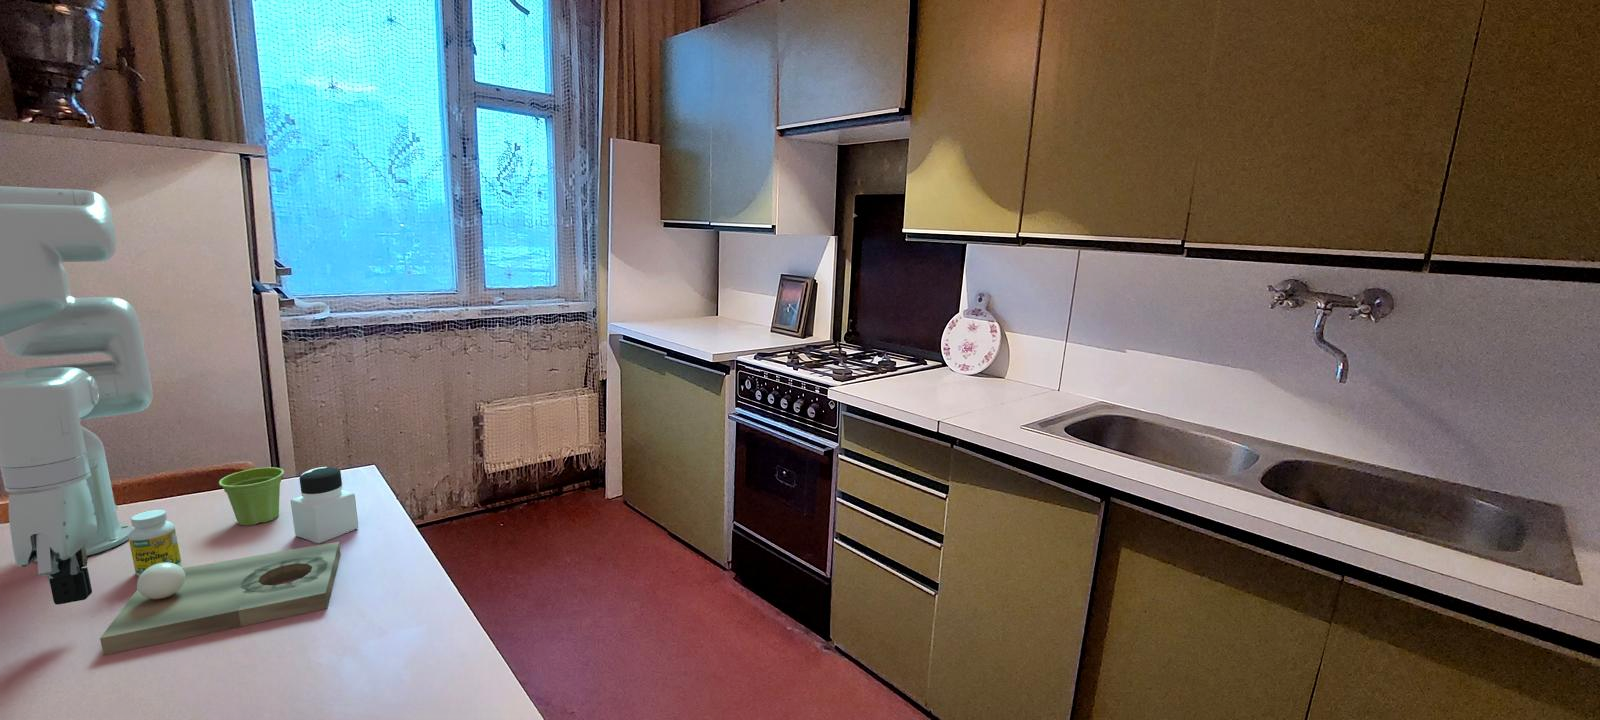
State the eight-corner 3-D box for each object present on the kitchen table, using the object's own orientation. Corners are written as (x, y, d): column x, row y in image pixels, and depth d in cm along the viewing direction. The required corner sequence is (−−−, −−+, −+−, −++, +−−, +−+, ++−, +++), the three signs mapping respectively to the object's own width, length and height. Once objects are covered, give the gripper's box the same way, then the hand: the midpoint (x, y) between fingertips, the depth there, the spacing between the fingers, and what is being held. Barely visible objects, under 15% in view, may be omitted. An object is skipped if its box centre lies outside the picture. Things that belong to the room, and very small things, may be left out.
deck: (152, 588, 101) (149, 573, 101) (340, 554, 113) (339, 541, 112) (103, 655, 86) (99, 638, 85) (327, 608, 97) (325, 592, 97)
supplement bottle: (184, 558, 110) (175, 504, 108) (177, 572, 106) (168, 517, 104) (140, 566, 107) (130, 511, 105) (131, 581, 103) (120, 524, 101)
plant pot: (262, 531, 120) (256, 486, 119) (212, 529, 121) (204, 484, 119) (301, 509, 130) (296, 467, 128) (254, 508, 130) (248, 466, 128)
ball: (147, 592, 96) (141, 560, 95) (192, 584, 98) (187, 553, 97) (134, 609, 92) (128, 576, 91) (182, 600, 94) (176, 568, 93)
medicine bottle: (359, 528, 122) (352, 467, 120) (318, 544, 116) (310, 480, 114) (335, 520, 125) (328, 461, 123) (294, 536, 119) (285, 473, 117)
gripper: (35, 459, 91) (61, 581, 94) (-29, 496, 78) (4, 636, 82) (109, 451, 95) (132, 569, 98) (60, 485, 82) (88, 619, 85)
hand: (73, 599), depth 90 cm, fingers closed
